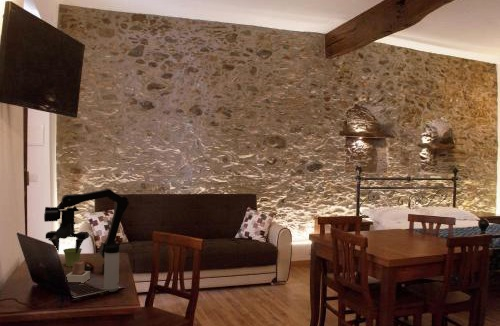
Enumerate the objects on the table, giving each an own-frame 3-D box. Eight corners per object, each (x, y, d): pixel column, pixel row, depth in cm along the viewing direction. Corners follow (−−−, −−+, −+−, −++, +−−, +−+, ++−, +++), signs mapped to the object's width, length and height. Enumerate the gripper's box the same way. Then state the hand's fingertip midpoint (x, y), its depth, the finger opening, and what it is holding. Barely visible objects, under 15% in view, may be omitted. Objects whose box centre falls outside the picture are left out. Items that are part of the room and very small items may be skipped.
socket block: (89, 279, 198) (90, 271, 198) (83, 284, 190) (83, 275, 190) (73, 279, 198) (73, 270, 198) (65, 284, 190) (66, 275, 190)
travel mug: (121, 289, 184) (123, 244, 184) (107, 292, 179) (109, 246, 179) (114, 286, 188) (115, 242, 188) (100, 289, 183) (102, 244, 183)
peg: (84, 280, 196) (84, 261, 196) (80, 283, 192) (81, 263, 192) (75, 280, 196) (76, 261, 196) (72, 283, 192) (72, 263, 192)
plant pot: (58, 266, 221) (59, 250, 221) (71, 262, 230) (71, 247, 230) (73, 268, 218) (73, 251, 218) (85, 264, 227) (85, 248, 227)
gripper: (40, 222, 192) (39, 256, 192) (80, 223, 192) (79, 257, 192) (51, 219, 203) (50, 251, 203) (89, 220, 203) (88, 252, 203)
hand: (67, 253), depth 200 cm, fingers open, 9 cm apart
